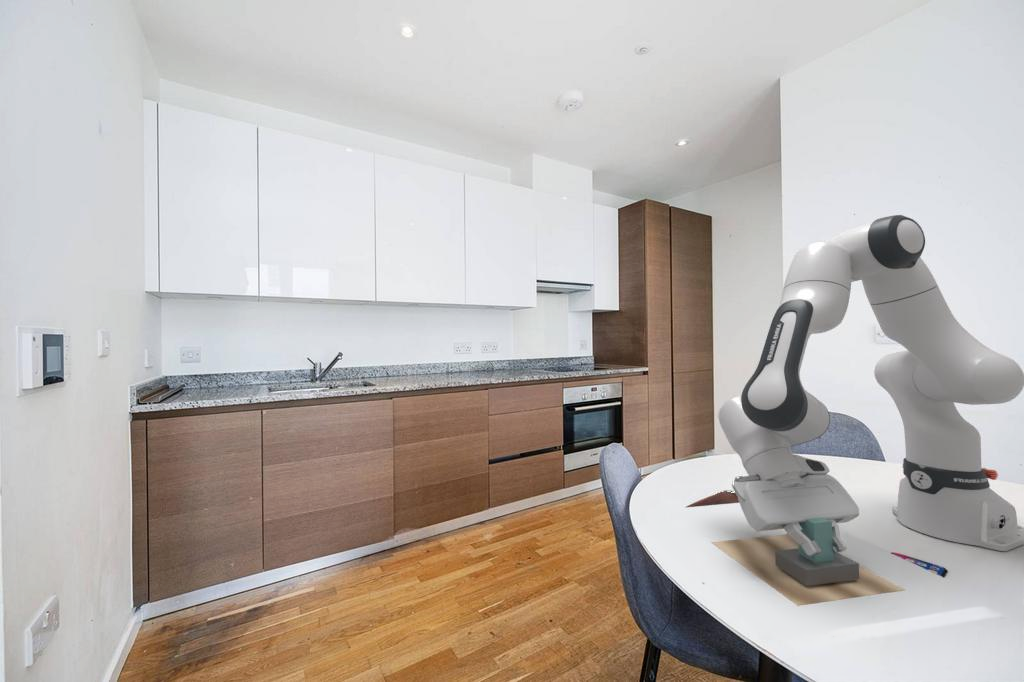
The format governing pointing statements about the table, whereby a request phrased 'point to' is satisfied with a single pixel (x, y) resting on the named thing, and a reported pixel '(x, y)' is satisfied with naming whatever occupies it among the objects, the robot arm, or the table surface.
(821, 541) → the sanding block
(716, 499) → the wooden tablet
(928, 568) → the blue red thin stick
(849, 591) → the board
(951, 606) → the table surface
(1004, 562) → the table surface
